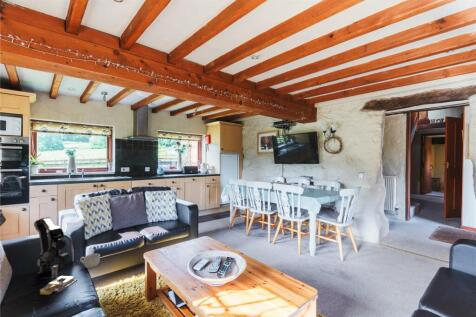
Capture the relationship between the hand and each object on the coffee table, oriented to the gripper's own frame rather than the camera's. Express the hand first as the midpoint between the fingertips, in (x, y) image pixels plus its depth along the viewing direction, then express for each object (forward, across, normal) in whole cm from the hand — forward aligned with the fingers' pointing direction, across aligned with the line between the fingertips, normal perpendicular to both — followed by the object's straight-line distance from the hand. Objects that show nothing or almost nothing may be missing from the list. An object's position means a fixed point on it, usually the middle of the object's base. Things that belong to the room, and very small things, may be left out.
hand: (54, 268), depth 163 cm
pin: (+8, 0, 0) cm, 8 cm away
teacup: (+8, +11, +20) cm, 24 cm away
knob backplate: (+7, +10, -9) cm, 15 cm away
